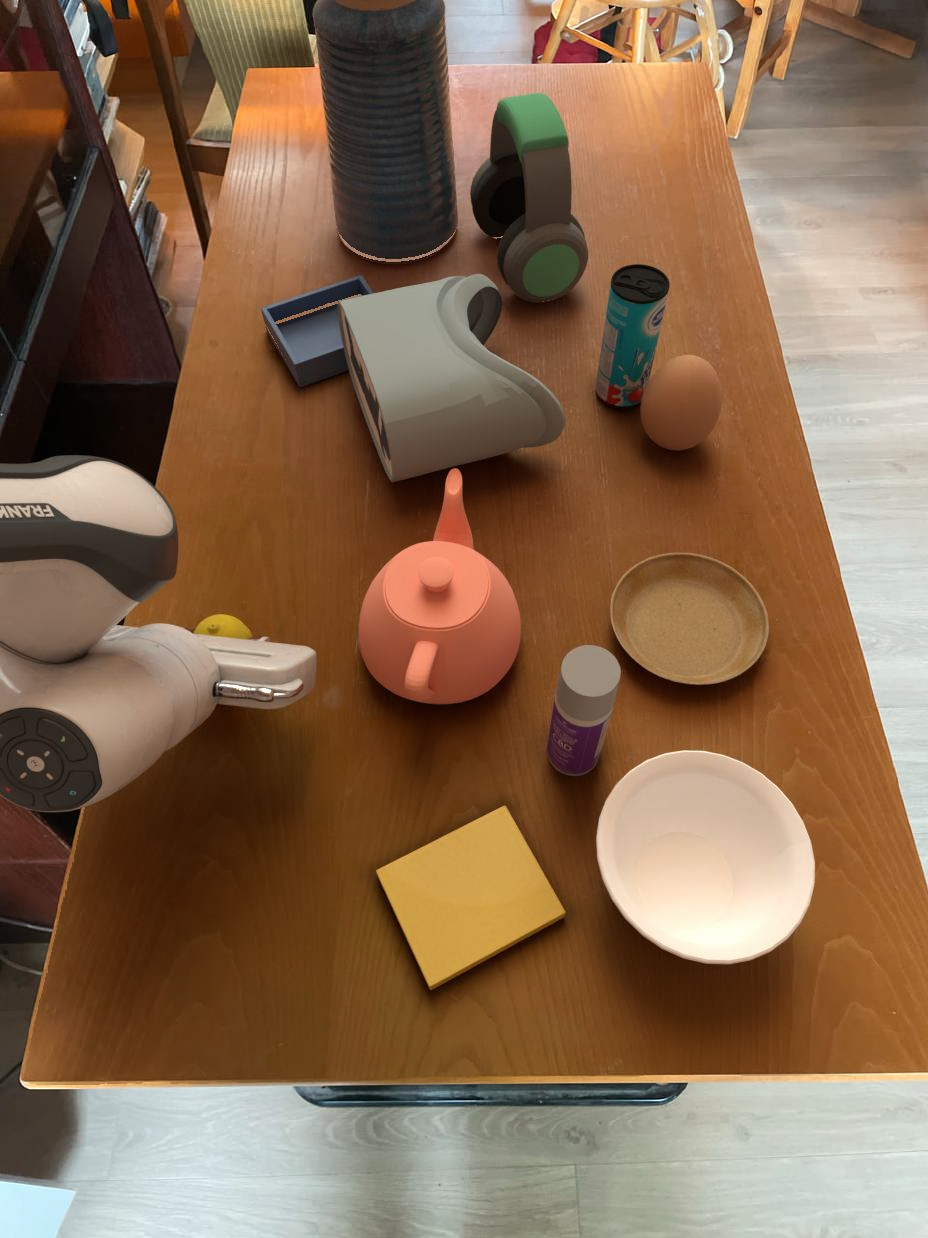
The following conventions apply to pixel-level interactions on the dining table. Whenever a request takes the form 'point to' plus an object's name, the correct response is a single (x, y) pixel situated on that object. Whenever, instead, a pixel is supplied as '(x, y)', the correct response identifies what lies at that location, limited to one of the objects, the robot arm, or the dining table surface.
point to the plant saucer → (689, 618)
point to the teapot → (440, 615)
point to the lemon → (223, 627)
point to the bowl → (705, 857)
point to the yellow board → (469, 896)
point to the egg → (681, 403)
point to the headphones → (530, 200)
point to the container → (582, 709)
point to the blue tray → (312, 330)
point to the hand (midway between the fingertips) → (224, 640)
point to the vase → (388, 124)
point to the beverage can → (630, 334)
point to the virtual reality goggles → (440, 377)
